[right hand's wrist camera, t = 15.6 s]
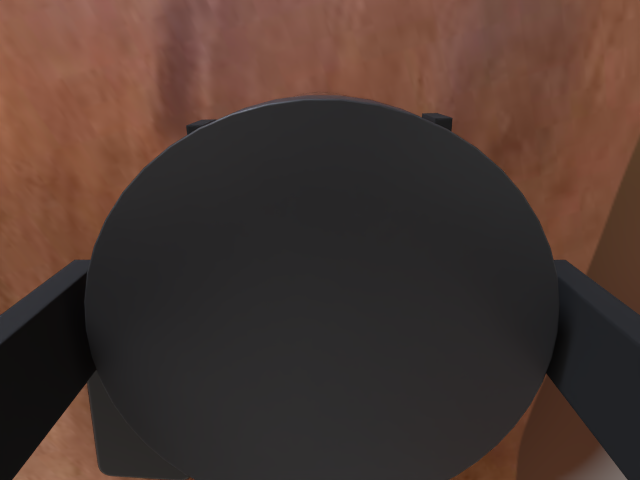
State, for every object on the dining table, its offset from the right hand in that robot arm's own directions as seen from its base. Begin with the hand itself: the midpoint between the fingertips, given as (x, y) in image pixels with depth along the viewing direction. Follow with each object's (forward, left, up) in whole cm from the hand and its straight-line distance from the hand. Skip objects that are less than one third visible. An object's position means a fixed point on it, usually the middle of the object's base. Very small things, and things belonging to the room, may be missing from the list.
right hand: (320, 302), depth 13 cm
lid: (0, 0, +2) cm, 2 cm away
